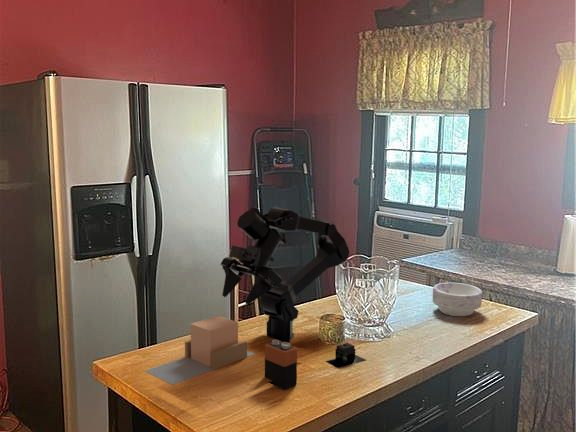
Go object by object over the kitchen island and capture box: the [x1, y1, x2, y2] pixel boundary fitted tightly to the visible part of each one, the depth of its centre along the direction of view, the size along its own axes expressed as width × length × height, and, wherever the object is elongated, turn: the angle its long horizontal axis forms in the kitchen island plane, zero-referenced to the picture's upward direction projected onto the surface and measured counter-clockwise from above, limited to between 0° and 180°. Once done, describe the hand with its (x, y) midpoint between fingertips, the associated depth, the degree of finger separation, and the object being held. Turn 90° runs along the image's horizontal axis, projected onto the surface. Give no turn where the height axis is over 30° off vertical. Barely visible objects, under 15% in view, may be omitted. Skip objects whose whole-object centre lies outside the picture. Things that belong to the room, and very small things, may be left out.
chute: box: [144, 339, 256, 386], centre depth 151 cm, size 26×11×5 cm, turn 137°
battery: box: [264, 339, 298, 390], centre depth 142 cm, size 4×7×10 cm, turn 45°
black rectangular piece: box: [324, 342, 367, 369], centre depth 156 cm, size 12×7×5 cm, turn 125°
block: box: [190, 315, 239, 367], centre depth 153 cm, size 9×8×9 cm
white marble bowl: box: [432, 282, 483, 317], centre depth 196 cm, size 15×15×8 cm
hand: (234, 300), depth 158 cm, fingers open, 9 cm apart
